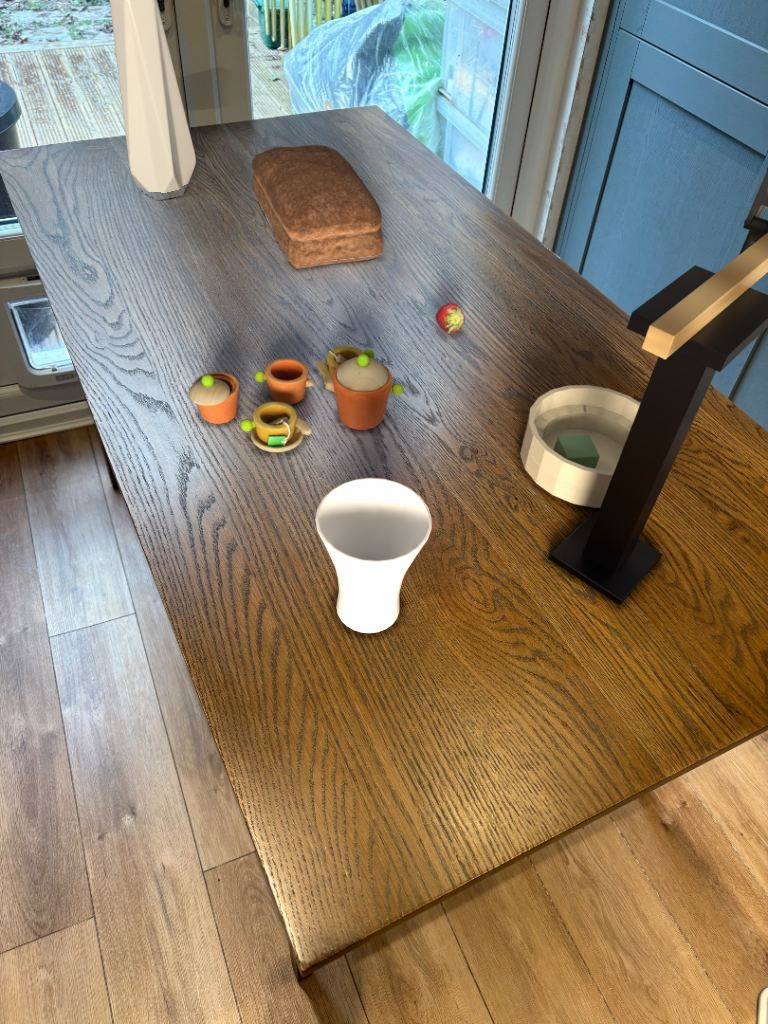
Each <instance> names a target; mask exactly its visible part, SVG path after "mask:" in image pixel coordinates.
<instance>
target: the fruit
mask: <svg viewBox="0 0 768 1024" xmlns="http://www.w3.org/2000/svg"><path fill="white" fill-rule="evenodd" d="M435 321H436V323H437V324H438V325H439V328H440V329H441V330H443V331H444V332H445V333H446V334H447V335H449V334H455V333H458V332H459V331H461V330H462V329H463V328H464V325H465V322H466V317H465V314H464V312H463V310H462V308H461V307H460V305H458V304H457V303H453V302H448V303H446V304H444V305H442V306H441V307H440V308H439V309H438V310H437V312H436V314H435Z"/></svg>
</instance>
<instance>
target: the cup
mask: <svg viewBox="0 0 768 1024" xmlns="http://www.w3.org/2000/svg"><path fill="white" fill-rule="evenodd" d="M314 521H315V526H316V530H317V531H316V532H317V533H318V536H319V537H320V539H321V542H322V543H323V545H324V547H325V549H326V551H327V553H328V555H329V558H330V559H331V561H332V564H333V566H334V569H335V572H336V576H337V584H338V586H337V587H338V592H337V593H338V594H337V599H336V608H335V609H336V613H337V615H338V617H339V619H340V621H341V622H342V623H343V624H344V625H345V626H346V627H347V628H350V629H351V630H353V631H355V632H359V633H363V634H364V633H366V634H372V633H373V634H375V633H379V632H381V631H385V630H387V629H388V628H389V627H391V626H392V625H393V624H394V623H395V622H396V620H398V616H399V615H400V608H401V606H400V603H401V602H400V592H401V589H402V583H403V580H404V577H405V575H406V573H407V571H408V570H409V569H410V566H411V565H412V563H413V562H414V560H415V559H416V557H417V556H418V554H419V553H420V551H421V550H422V549H423V547H424V545H425V544H426V543H427V541H428V540H429V538H430V535H431V533H432V529H433V528H432V527H433V517H432V514H431V511H430V509H429V506H428V504H426V501H424V499H423V498H422V497H421V496H420V495H419V494H418V493H417V492H416V491H414V490H413V489H412V488H411V487H408V486H406V485H405V484H402V483H400V482H398V481H394V480H390V479H386V478H380V477H379V478H378V477H367V478H366V477H363V478H356V479H353V480H349V481H346V482H342V483H341V484H339V485H338V486H336V487H334V488H332V489H330V491H329V492H328V493H327V494H326V495H325V496H323V498H322V499H321V501H320V503H319V504H318V506H317V508H316V513H315V519H314Z"/></svg>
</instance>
